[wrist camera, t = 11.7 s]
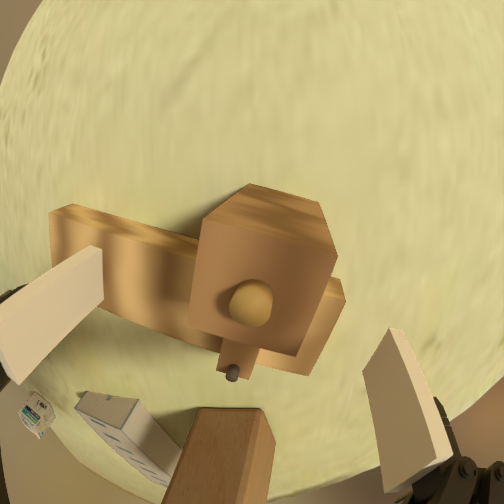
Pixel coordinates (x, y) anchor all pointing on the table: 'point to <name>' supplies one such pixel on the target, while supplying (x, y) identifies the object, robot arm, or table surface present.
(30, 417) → the light bulb box
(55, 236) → the plank
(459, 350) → the table surface
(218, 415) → the wooden block
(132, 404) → the warehouse
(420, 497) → the robot arm
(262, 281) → the wooden box
